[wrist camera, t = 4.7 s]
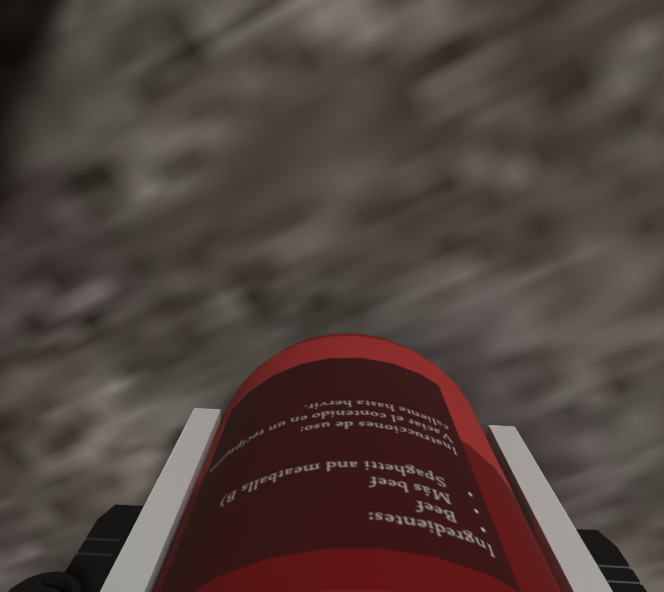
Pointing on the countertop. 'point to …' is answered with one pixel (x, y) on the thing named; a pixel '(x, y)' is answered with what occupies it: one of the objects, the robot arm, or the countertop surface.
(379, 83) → the countertop surface
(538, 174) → the countertop surface
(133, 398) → the countertop surface
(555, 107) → the countertop surface
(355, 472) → the canned food
